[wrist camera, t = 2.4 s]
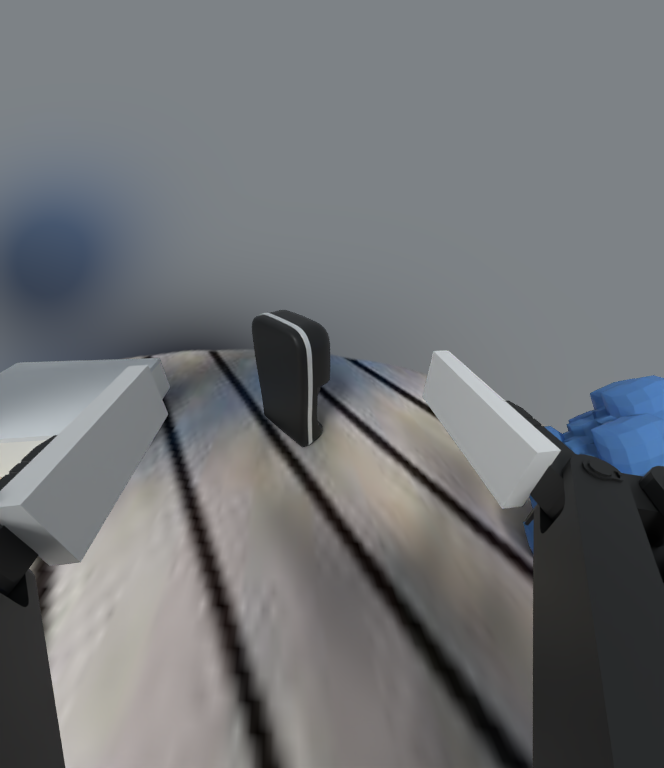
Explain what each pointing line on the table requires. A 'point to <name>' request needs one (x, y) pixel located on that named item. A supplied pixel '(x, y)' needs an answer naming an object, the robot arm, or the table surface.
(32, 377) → the stand
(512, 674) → the table surface
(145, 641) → the table surface
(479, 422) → the robot arm
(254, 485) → the table surface
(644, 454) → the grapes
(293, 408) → the battery charger
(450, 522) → the table surface
